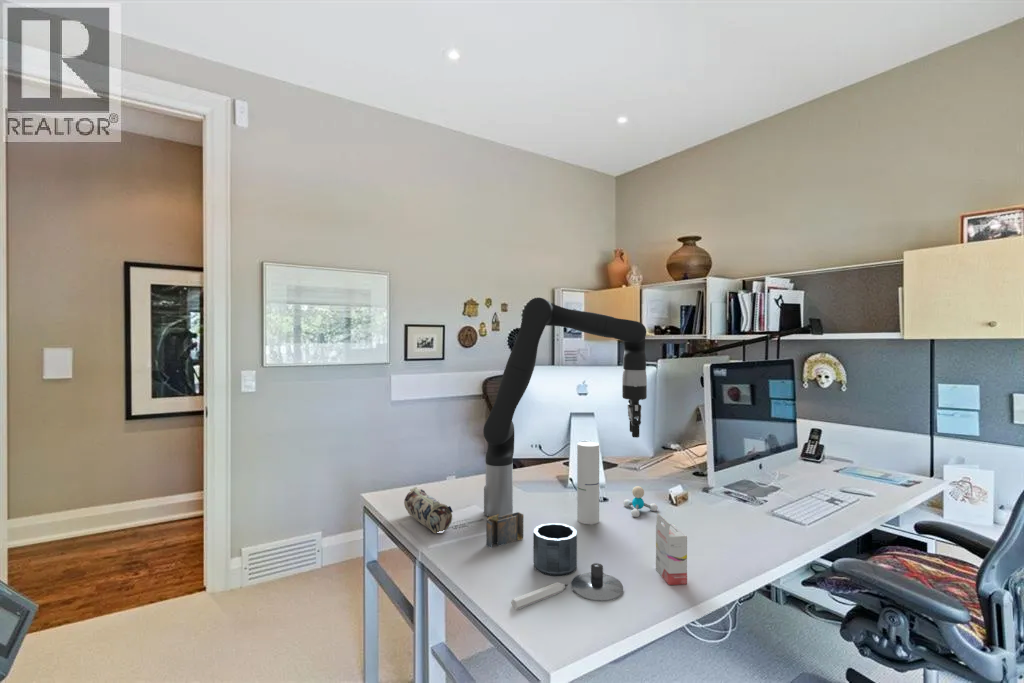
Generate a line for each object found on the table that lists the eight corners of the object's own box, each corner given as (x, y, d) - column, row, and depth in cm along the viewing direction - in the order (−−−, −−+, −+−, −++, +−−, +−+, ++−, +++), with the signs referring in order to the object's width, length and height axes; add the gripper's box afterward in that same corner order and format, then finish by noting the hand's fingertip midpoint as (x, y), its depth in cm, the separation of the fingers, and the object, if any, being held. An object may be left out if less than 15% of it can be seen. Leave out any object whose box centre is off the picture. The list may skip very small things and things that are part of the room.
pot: (529, 576, 120) (529, 540, 120) (538, 552, 134) (538, 519, 134) (574, 580, 118) (574, 544, 118) (578, 555, 132) (578, 522, 132)
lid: (569, 599, 110) (569, 575, 110) (573, 574, 122) (573, 552, 122) (623, 605, 108) (623, 581, 108) (622, 579, 120) (622, 556, 120)
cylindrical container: (599, 525, 154) (599, 446, 154) (576, 523, 155) (576, 445, 155) (599, 516, 161) (599, 442, 161) (577, 515, 162) (578, 441, 162)
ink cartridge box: (688, 585, 116) (688, 524, 116) (668, 585, 116) (668, 524, 116) (673, 568, 125) (673, 511, 125) (654, 568, 124) (655, 512, 124)
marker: (568, 591, 115) (514, 612, 106) (563, 584, 117) (510, 604, 107) (572, 584, 114) (518, 605, 105) (567, 576, 115) (513, 596, 106)
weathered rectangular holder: (492, 550, 136) (492, 515, 136) (486, 546, 139) (486, 512, 139) (524, 540, 143) (524, 507, 143) (518, 537, 145) (518, 505, 145)
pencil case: (454, 531, 149) (454, 500, 149) (429, 537, 144) (429, 505, 144) (425, 510, 167) (425, 482, 167) (402, 515, 162) (402, 486, 162)
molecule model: (615, 507, 171) (615, 482, 171) (644, 503, 175) (644, 479, 175) (634, 519, 160) (633, 492, 160) (664, 515, 163) (664, 489, 163)
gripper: (620, 381, 162) (620, 430, 162) (624, 385, 147) (623, 438, 148) (644, 382, 160) (643, 430, 160) (649, 386, 146) (649, 439, 146)
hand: (634, 434), depth 154 cm, fingers open, 8 cm apart
